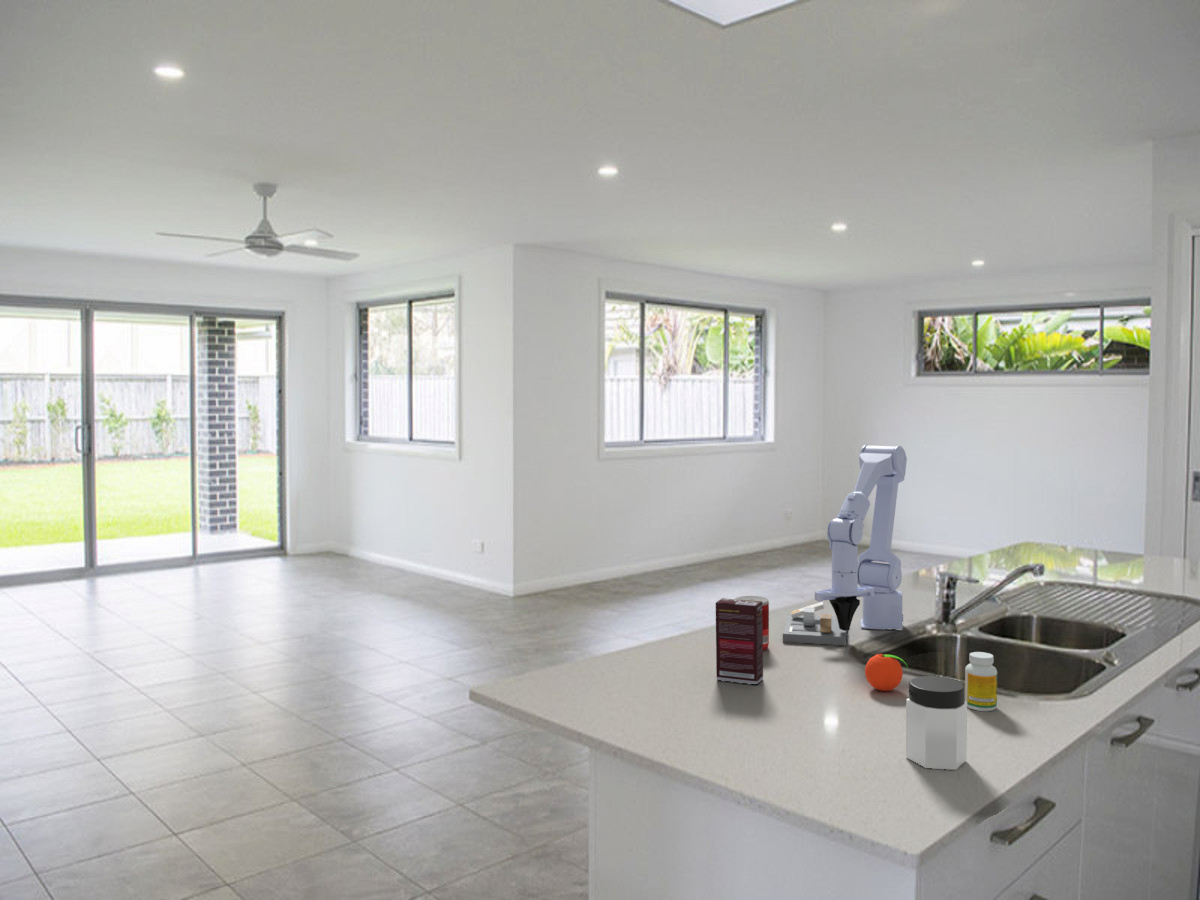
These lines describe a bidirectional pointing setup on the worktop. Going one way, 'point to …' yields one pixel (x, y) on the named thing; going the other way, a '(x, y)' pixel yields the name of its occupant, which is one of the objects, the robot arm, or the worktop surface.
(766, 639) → the canned food
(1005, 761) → the worktop surface
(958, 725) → the jar
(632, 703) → the worktop surface
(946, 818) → the worktop surface
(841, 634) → the console
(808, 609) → the steel slider
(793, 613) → the block
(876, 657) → the clementine
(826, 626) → the oak slider
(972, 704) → the supplement bottle
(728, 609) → the supplement box
